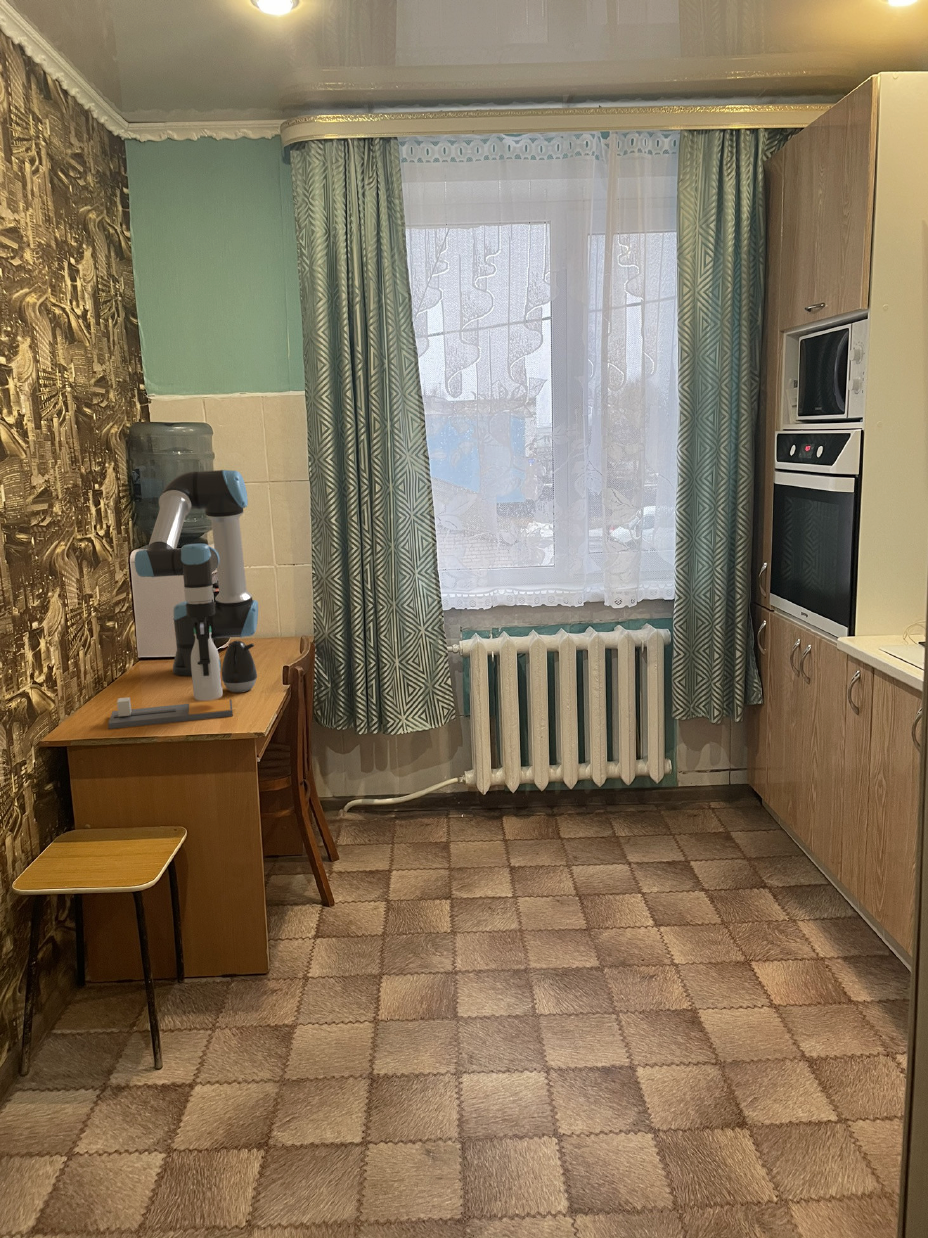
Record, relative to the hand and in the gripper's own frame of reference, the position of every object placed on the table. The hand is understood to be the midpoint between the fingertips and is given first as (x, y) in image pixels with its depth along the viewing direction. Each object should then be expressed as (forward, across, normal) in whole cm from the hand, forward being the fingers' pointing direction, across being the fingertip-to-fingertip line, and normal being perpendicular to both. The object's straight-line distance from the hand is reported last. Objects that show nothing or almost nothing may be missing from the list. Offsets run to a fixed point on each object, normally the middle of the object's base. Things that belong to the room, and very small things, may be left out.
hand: (207, 683), depth 267 cm
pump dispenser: (+9, +21, -9) cm, 24 cm away
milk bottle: (+4, 0, 0) cm, 4 cm away
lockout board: (+8, 0, +10) cm, 13 cm away
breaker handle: (+6, 0, +22) cm, 23 cm away
